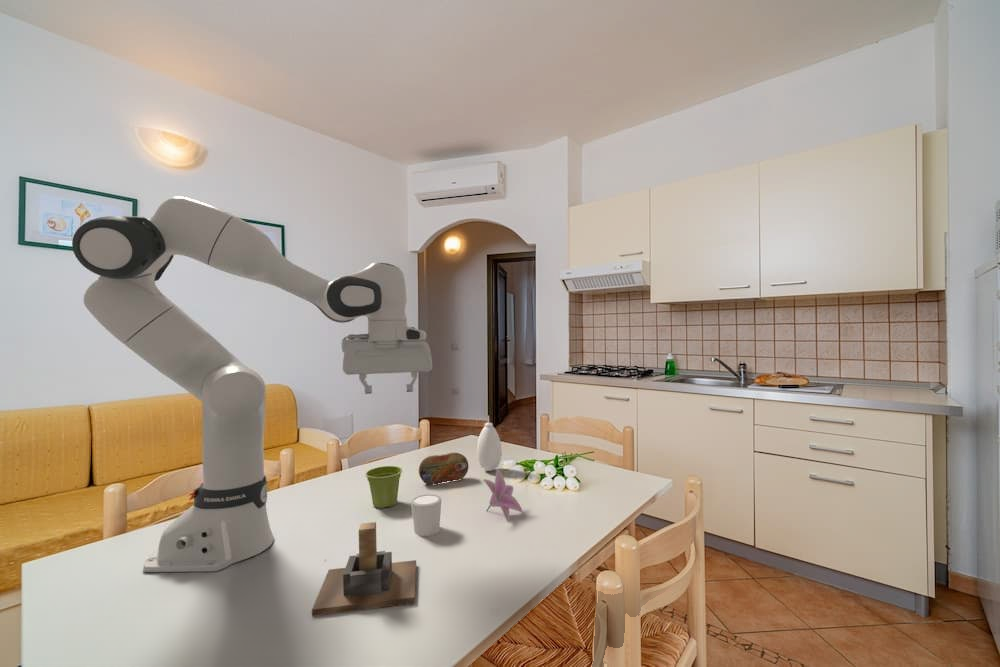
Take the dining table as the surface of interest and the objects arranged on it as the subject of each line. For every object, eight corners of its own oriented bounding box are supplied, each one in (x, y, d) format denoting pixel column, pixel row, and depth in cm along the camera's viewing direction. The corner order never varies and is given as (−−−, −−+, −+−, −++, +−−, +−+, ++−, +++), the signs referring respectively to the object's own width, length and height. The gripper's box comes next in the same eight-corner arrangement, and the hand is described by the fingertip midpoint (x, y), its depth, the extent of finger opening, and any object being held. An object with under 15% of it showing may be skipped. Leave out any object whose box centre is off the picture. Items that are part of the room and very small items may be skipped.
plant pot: (390, 513, 109) (389, 478, 109) (358, 509, 112) (357, 475, 112) (409, 499, 117) (409, 467, 117) (380, 495, 120) (379, 464, 120)
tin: (420, 487, 126) (419, 458, 126) (418, 484, 129) (417, 456, 129) (469, 479, 132) (468, 452, 132) (465, 476, 135) (465, 449, 135)
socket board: (312, 615, 69) (311, 587, 69) (328, 574, 81) (328, 550, 81) (414, 603, 72) (413, 576, 72) (416, 565, 83) (415, 542, 83)
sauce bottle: (506, 470, 140) (505, 414, 140) (489, 476, 135) (488, 418, 135) (489, 465, 146) (488, 412, 146) (472, 471, 140) (471, 415, 140)
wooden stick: (359, 587, 75) (358, 529, 75) (362, 579, 77) (360, 523, 77) (375, 586, 75) (374, 528, 75) (377, 577, 78) (376, 522, 78)
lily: (482, 532, 99) (501, 497, 98) (461, 497, 109) (478, 465, 107) (520, 533, 106) (538, 501, 105) (497, 500, 116) (514, 470, 114)
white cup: (436, 538, 94) (435, 506, 94) (406, 536, 96) (405, 504, 96) (446, 524, 101) (445, 494, 101) (418, 522, 103) (417, 493, 103)
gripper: (338, 334, 96) (340, 396, 96) (431, 332, 100) (433, 392, 100) (344, 334, 103) (345, 392, 103) (431, 332, 106) (432, 389, 106)
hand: (389, 392), depth 101 cm, fingers open, 8 cm apart
